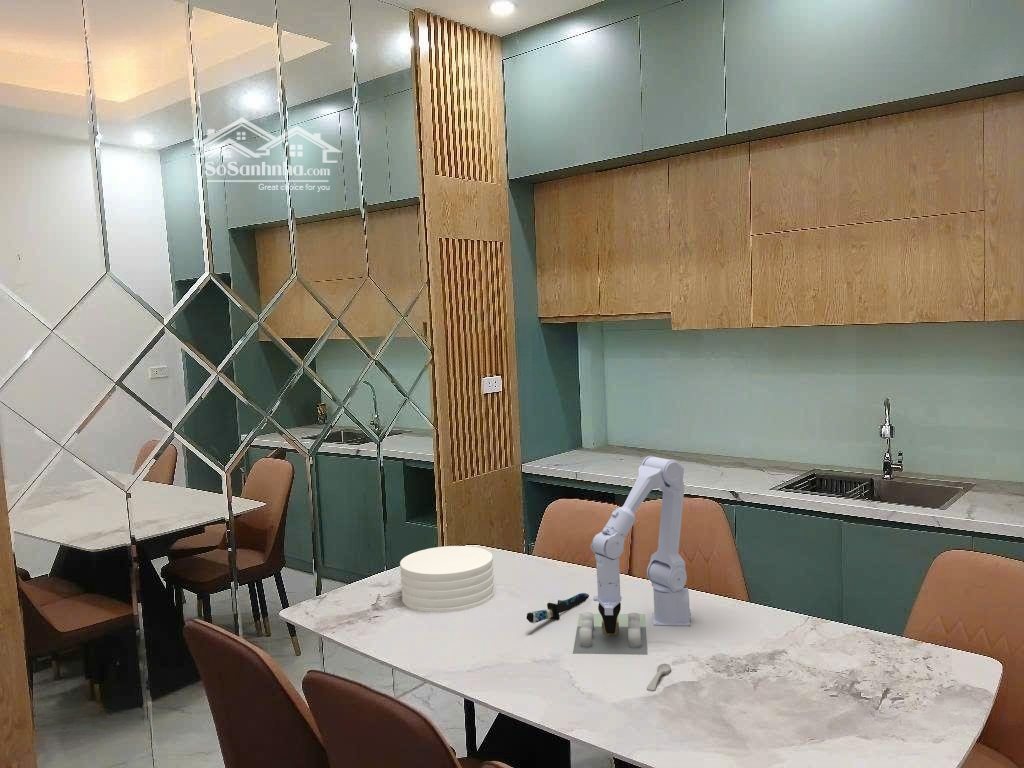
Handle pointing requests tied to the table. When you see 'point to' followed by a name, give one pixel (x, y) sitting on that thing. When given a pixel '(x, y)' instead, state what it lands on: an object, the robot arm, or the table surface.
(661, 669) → the spoon
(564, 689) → the table surface
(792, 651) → the table surface
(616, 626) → the nut
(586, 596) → the knife
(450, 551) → the plate stack
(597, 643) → the spacer board
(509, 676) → the table surface
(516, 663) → the table surface
